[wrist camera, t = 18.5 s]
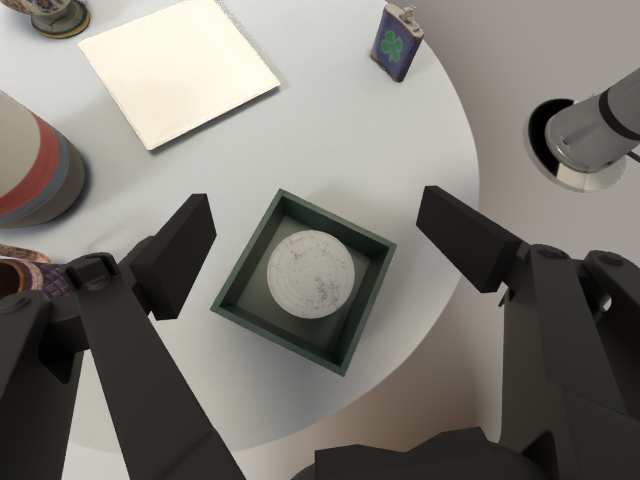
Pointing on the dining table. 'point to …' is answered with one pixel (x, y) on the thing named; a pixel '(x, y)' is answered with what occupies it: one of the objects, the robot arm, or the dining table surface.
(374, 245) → the bin
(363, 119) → the dining table surface
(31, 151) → the vase
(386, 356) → the dining table surface
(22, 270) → the mug
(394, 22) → the flask
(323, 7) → the dining table surface
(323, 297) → the white speckled cylinder
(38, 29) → the apothecary jar
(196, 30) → the white flat square slab
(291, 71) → the dining table surface
